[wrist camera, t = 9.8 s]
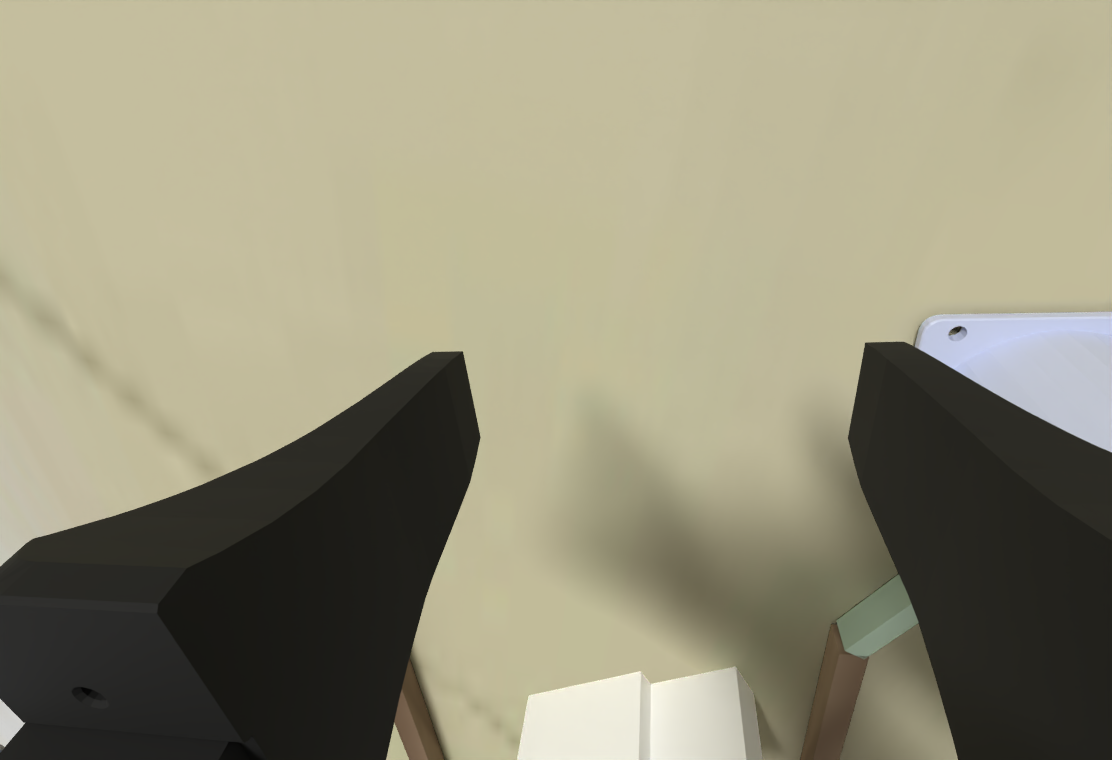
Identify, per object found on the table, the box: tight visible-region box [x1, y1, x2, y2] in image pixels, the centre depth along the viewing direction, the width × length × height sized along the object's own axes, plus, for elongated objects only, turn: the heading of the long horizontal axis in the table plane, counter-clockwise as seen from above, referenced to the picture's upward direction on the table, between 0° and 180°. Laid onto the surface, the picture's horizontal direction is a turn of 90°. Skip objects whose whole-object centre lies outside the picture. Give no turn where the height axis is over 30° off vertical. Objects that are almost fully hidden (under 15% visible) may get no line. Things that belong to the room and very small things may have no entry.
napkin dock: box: [394, 574, 918, 760], centre depth 33 cm, size 28×24×2 cm
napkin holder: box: [517, 667, 763, 760], centre depth 31 cm, size 15×11×6 cm
